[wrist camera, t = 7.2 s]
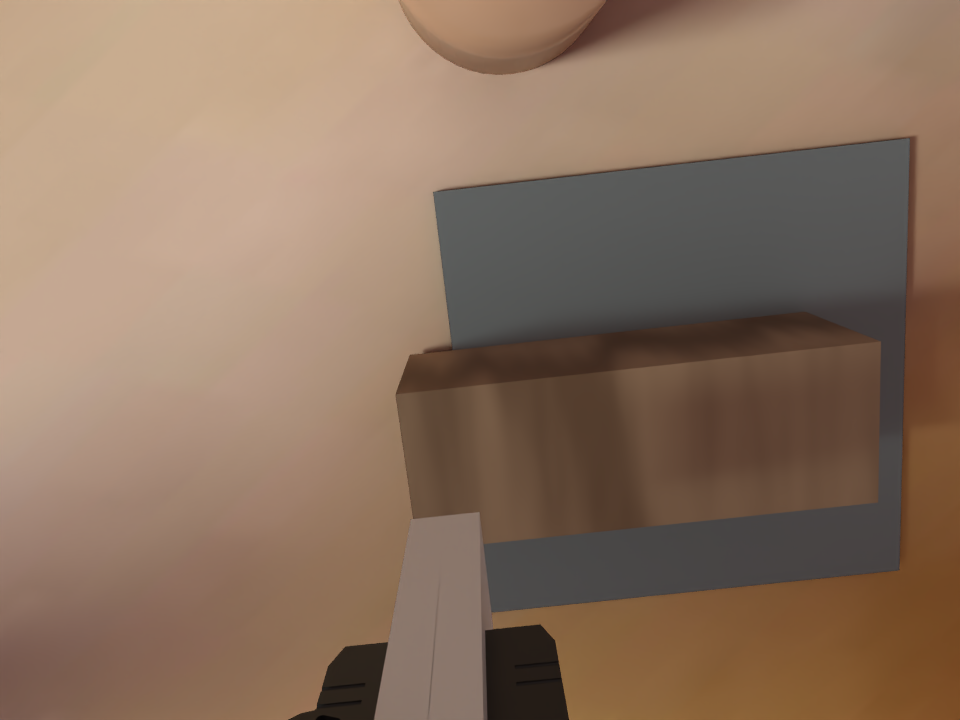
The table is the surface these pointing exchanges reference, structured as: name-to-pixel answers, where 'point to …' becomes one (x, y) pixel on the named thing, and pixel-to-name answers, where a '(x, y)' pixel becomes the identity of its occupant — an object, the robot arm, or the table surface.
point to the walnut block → (644, 426)
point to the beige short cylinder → (500, 30)
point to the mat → (690, 300)
